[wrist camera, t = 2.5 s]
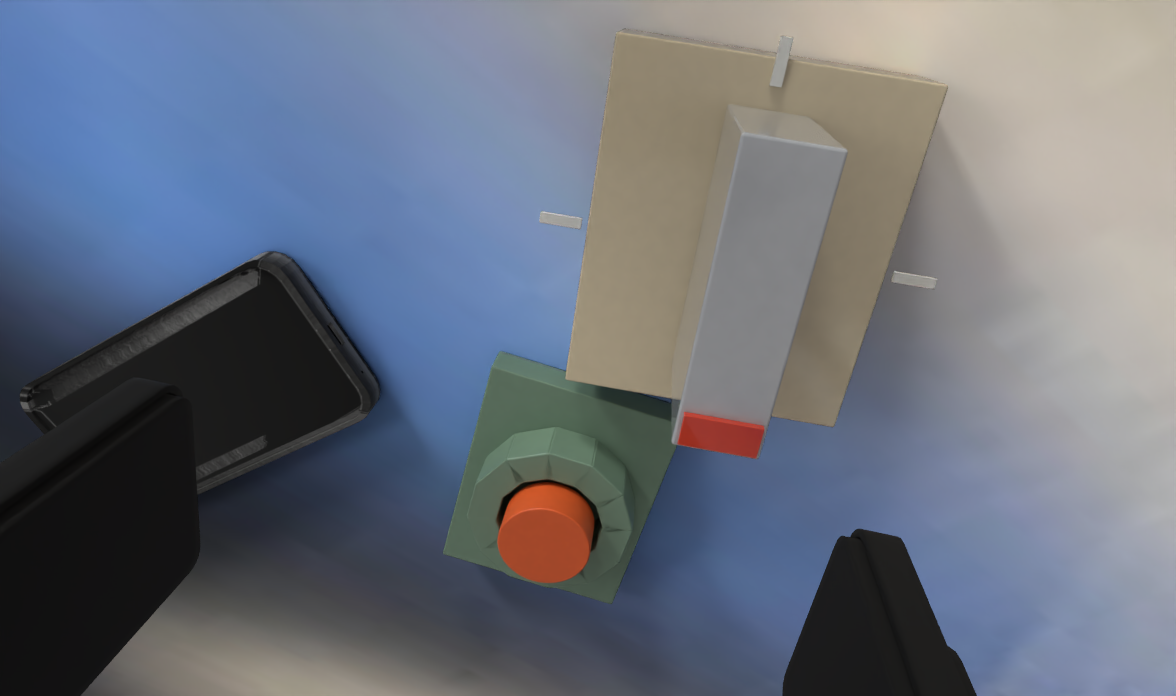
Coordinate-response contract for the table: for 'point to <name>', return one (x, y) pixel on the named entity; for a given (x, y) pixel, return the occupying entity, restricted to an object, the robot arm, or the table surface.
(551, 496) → the button
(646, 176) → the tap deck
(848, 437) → the table surface
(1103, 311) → the table surface
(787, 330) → the grey block
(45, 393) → the phone
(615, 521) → the button box
